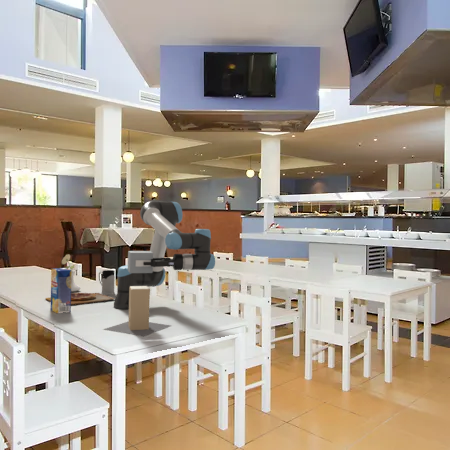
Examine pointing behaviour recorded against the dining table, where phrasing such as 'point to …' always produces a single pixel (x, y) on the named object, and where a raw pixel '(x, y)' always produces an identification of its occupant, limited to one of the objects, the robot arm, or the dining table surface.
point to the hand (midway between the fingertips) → (134, 262)
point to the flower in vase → (73, 285)
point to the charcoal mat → (125, 329)
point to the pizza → (87, 298)
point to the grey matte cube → (139, 256)
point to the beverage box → (61, 290)
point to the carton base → (139, 307)
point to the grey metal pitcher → (107, 282)
